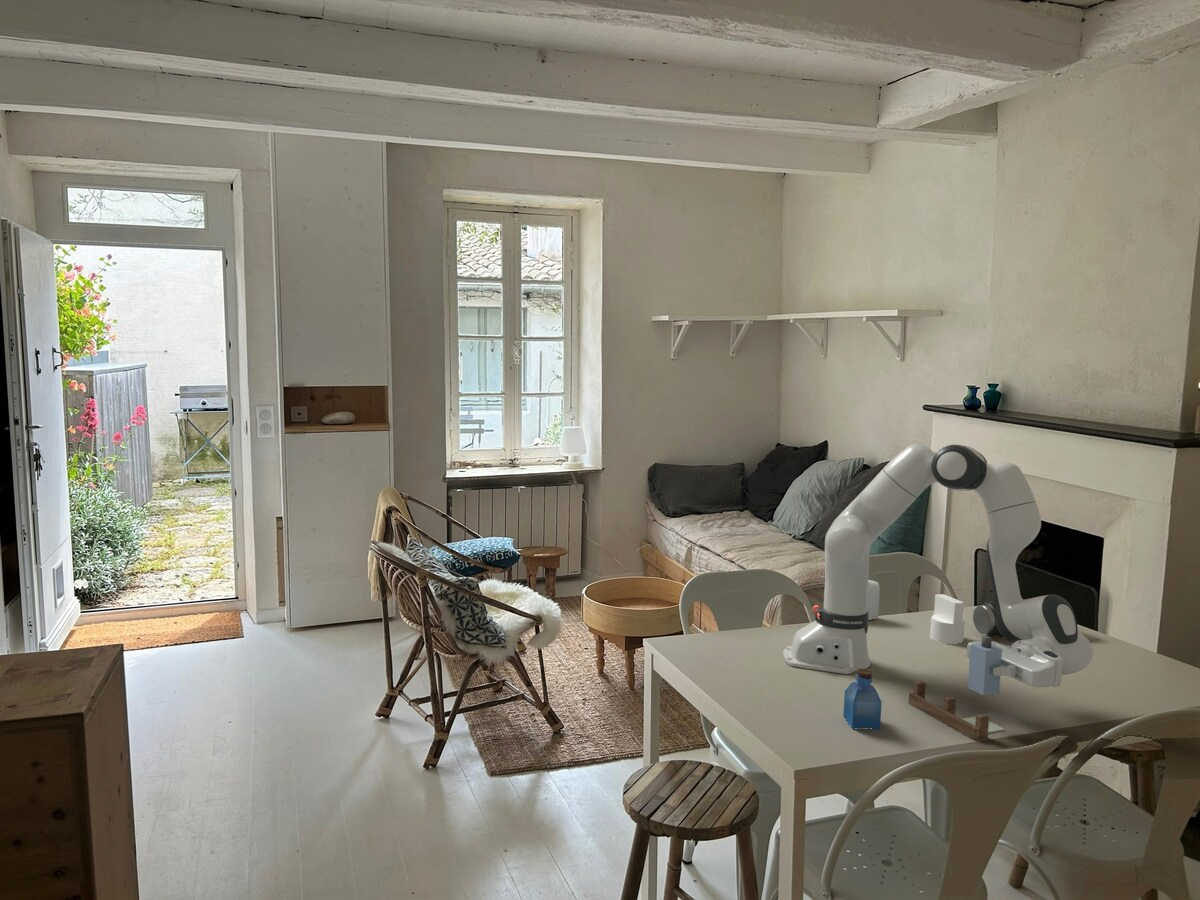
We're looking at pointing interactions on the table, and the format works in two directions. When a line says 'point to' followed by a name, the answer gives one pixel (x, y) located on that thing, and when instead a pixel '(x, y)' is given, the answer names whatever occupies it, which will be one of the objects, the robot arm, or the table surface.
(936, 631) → the base with upright slab
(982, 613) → the muzzle brake
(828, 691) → the table surface
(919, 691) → the comb rack
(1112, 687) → the table surface
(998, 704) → the table surface
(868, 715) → the perfume bottle
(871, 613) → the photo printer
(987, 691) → the blue block with peg
